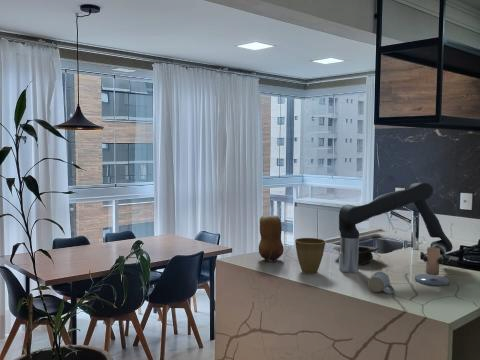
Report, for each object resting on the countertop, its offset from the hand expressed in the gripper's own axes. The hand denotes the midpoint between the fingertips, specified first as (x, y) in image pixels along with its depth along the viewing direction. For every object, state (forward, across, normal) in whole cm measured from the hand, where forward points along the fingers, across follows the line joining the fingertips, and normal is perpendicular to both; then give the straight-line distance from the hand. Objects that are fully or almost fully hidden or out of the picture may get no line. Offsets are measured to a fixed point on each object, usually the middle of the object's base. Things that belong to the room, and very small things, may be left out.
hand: (432, 260), depth 219 cm
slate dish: (-2, 0, +10) cm, 11 cm away
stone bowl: (-21, -42, +11) cm, 48 cm away
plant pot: (+14, -55, +10) cm, 58 cm away
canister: (-3, 0, +7) cm, 7 cm away
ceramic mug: (+25, -17, +10) cm, 32 cm away
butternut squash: (+5, -81, +10) cm, 82 cm away
